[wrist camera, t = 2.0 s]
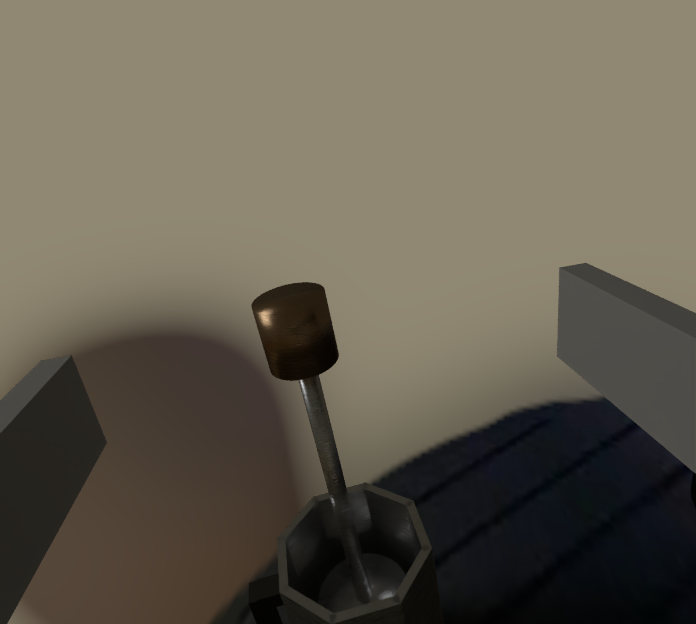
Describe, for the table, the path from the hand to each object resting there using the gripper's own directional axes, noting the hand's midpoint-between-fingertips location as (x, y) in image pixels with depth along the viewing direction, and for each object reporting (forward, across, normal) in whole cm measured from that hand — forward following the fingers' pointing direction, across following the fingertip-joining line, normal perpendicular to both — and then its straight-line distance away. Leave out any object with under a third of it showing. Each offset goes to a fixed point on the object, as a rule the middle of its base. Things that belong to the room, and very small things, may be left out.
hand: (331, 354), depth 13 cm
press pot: (+14, -1, -39) cm, 41 cm away
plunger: (+14, 0, -28) cm, 31 cm away
